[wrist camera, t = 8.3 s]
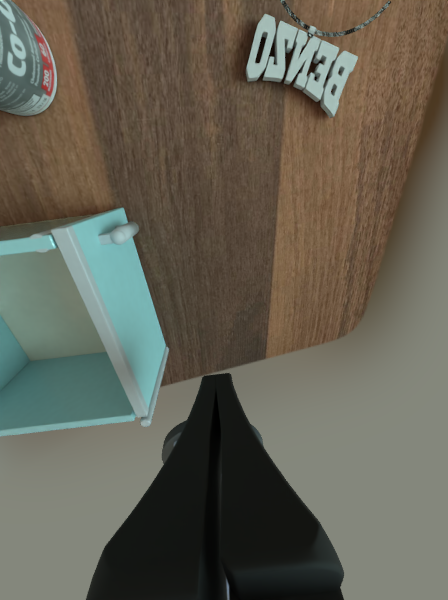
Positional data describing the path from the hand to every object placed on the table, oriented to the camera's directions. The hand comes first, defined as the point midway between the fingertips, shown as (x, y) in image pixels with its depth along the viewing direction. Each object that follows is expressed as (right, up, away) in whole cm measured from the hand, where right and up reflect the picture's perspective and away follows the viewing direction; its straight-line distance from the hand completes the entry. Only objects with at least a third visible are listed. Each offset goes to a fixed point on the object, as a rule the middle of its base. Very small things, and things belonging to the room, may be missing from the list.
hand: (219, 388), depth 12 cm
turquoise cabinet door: (-5, +5, +7) cm, 10 cm away
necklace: (+5, +18, +1) cm, 19 cm away
